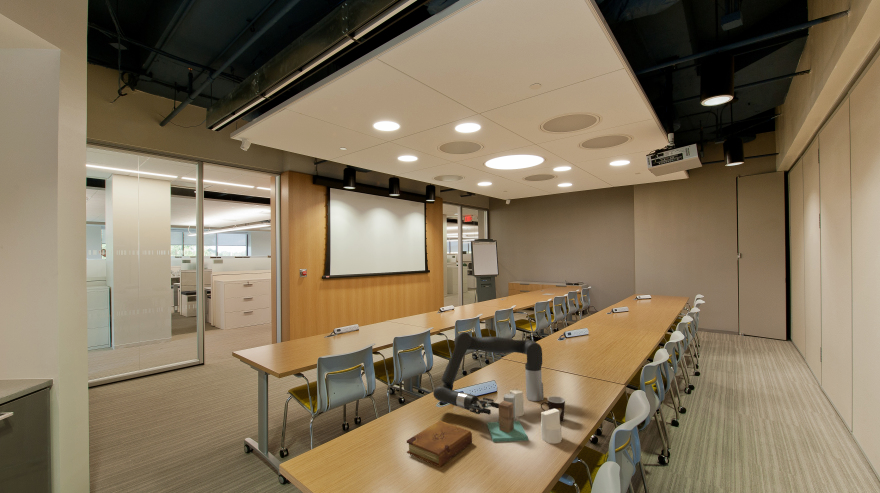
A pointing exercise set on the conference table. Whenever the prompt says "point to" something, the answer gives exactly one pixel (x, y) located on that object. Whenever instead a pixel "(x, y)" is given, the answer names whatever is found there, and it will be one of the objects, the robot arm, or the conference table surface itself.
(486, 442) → the conference table surface
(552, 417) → the base with upright slab
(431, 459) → the diary
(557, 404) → the coffee mug
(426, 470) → the conference table surface
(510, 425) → the walnut brick
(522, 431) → the teal board
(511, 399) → the grey brick
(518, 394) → the off-white brick
